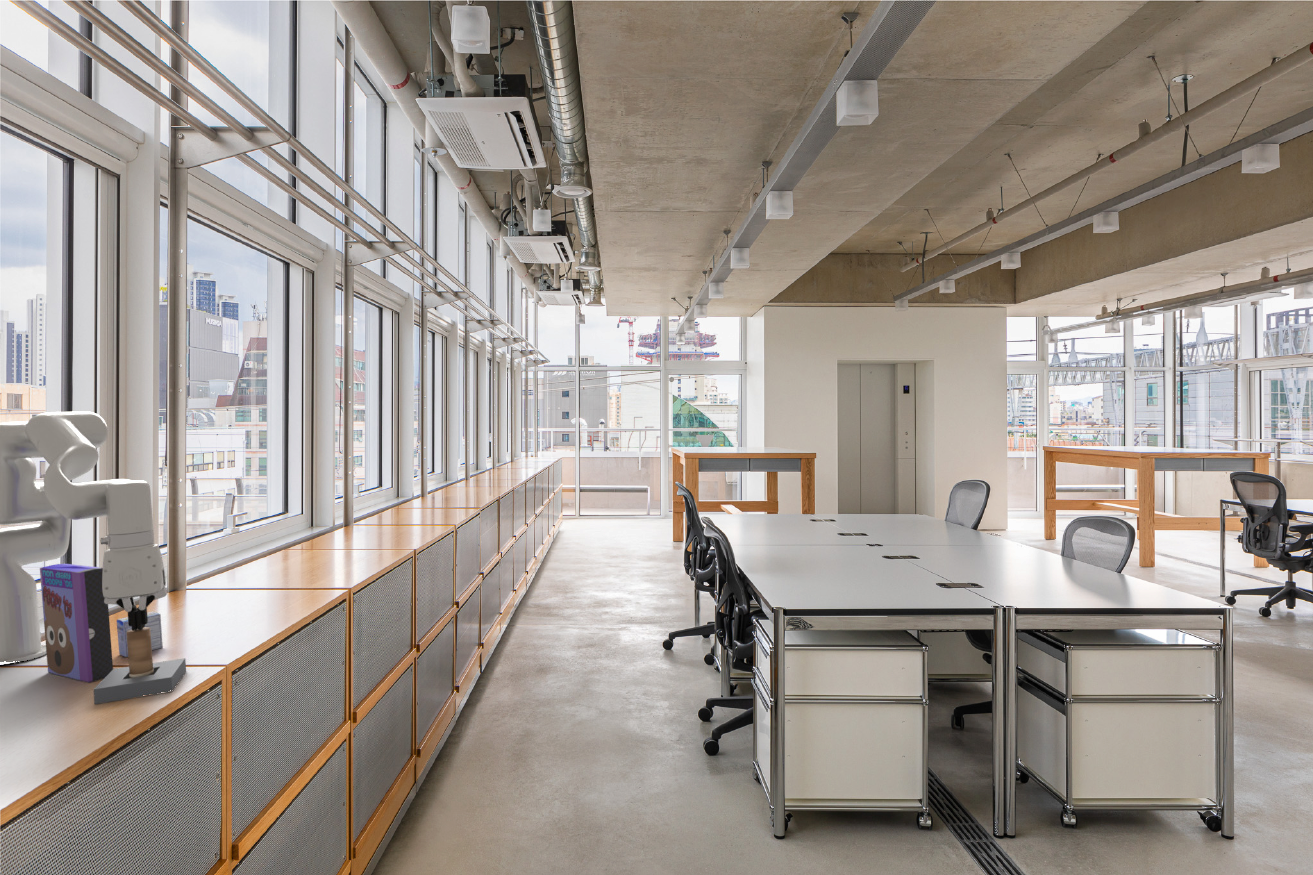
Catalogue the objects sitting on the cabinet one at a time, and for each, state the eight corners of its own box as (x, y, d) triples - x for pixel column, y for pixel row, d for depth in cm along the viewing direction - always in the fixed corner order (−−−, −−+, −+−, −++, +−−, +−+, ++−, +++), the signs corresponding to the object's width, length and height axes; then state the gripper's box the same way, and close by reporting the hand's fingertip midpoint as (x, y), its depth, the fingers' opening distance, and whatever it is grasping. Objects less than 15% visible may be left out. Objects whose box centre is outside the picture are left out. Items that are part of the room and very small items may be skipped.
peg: (133, 685, 152) (129, 629, 152) (156, 682, 154) (152, 626, 153) (128, 692, 149) (123, 634, 148) (151, 688, 150) (147, 631, 150)
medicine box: (156, 645, 181) (153, 610, 181) (163, 648, 178) (160, 613, 178) (118, 654, 175) (115, 619, 174) (125, 657, 172) (122, 621, 172)
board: (114, 682, 155) (113, 668, 155) (186, 671, 160) (185, 658, 160) (94, 704, 143) (93, 689, 143) (172, 691, 148) (171, 677, 148)
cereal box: (48, 672, 164) (39, 567, 163) (73, 665, 168) (64, 562, 167) (88, 683, 155) (79, 571, 154) (113, 675, 160) (105, 567, 159)
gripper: (81, 547, 144) (88, 639, 144) (170, 539, 149) (176, 627, 150) (93, 542, 151) (100, 629, 151) (178, 534, 156) (184, 618, 157)
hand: (138, 628), depth 151 cm, fingers closed
